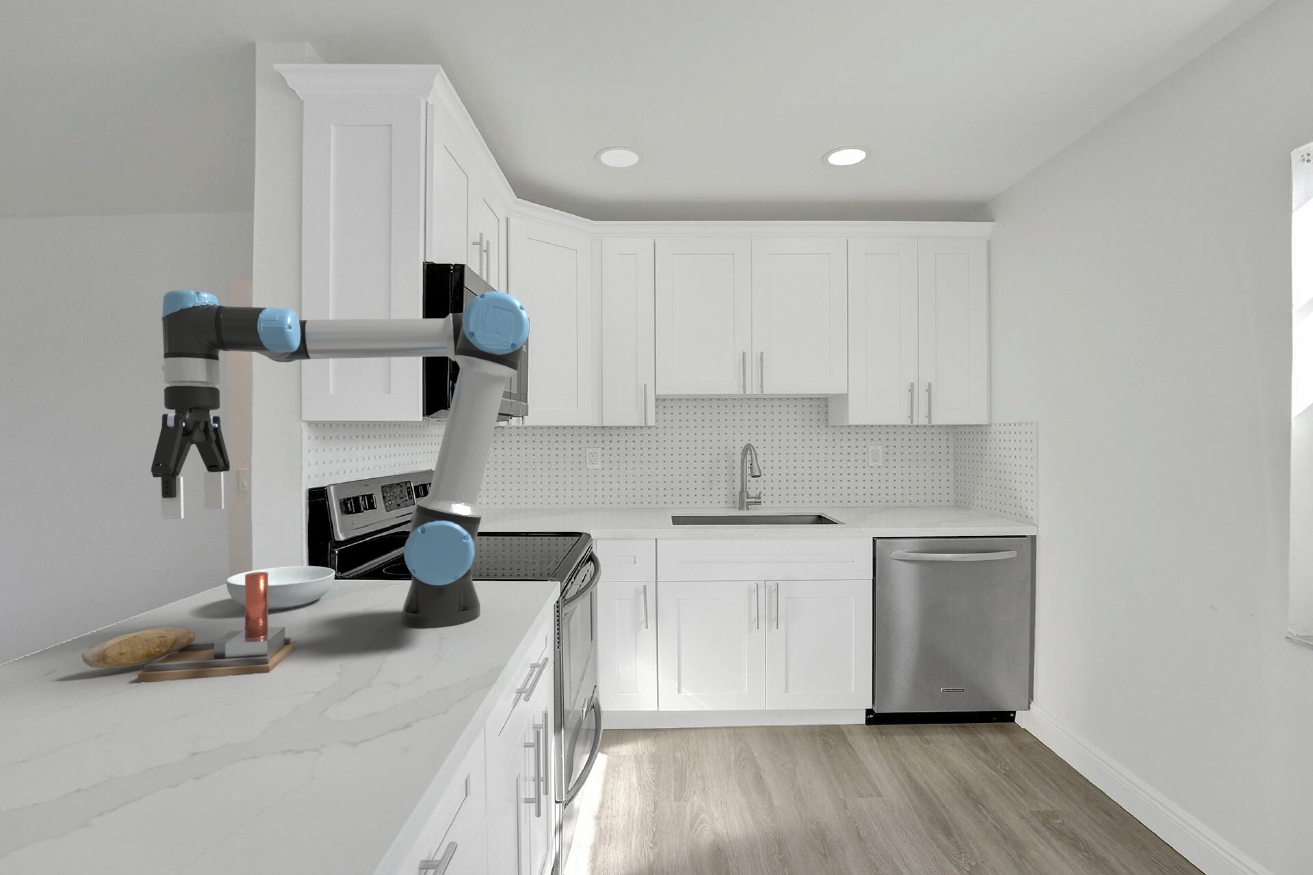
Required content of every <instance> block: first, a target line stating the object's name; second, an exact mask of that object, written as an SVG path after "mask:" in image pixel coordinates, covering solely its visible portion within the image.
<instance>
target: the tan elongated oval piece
mask: <svg viewBox="0 0 1313 875" xmlns="http://www.w3.org/2000/svg"><path fill="white" fill-rule="evenodd" d="M196 634H197V632H196V630H195V631H194V630H193V629H192V630H191V629H189V628H181V627H170V626H169V627H166V626H165V627H156V628H152V629H151V628H150V629H144V630H138V631H134V632H129V633H126V634H123V635H122V634H121V635H118V636H116V637H114V638H111V639H108V640H107V641H104V642H102V643H100V644H98V645H95V646H94V647H92V648H90V649H88V650H86V651H84V652H82V655H81V658H82V662H84V663H85V664H86V665H87V666H89V667H90V668H95V669H96V668H97V669H99V668H100V669H118V668H119V669H121V668H128V667H129V668H130V667H134V666H140V665H143V664H149V663H151V662H153V661H156V660H158V659H161V658H164V657H166V656H168V655H170V654H171V653H173V652H175V651H178V650H180V649H182V648H184V647H186V646H188V645H189V644H191V643H194V642H195V640H196Z"/></svg>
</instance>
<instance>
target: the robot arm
mask: <svg viewBox="0 0 1313 875" xmlns="http://www.w3.org/2000/svg"><path fill="white" fill-rule="evenodd" d="M218 302H219V300H218V298H217V296H215V295H214V294H212V293H209V292H204V291H195V290H190V289H189V290H188V289H178V290H177V289H176V290H171V291H168V292H166V293H165V295H164V296H163V300H162V315H161V322H162V344H163V365H162V366H161V370H162V371H163V381H164V383H165V384H168V386H165V388H163V397H164V398H163V402H164V408H165V409H166V410H168V411H169V410H173V411H174V413H163V414H162V416H161V429H160V432H159V437H158V441H157V444H156V449H155V452H154V456H153V460H152V464H151V467H150V472H151V474H152V475H151V476H152V478H160V493H161V494H160V498H161V500H160V501H161V502H160V503H161V520H182V519H184V518H185V516H184V515H185V513H184V510H185V509H184V508H185V507H184V476H180V474H181V472H182V468H183V466H184V464H185V461H186V459H187V457H188V454H189V452H190V450H191V447H192V446H193V445H195V447H196V448H197V451H198V454H199V455H200V458H201V460H202V461H203V464H204V466H205V468H206V471H207V472H204V473H203V475H204V510H224V509H225V497H224V496H225V495H224V494H225V492H224V490H225V488H224V487H225V486H224V472H230V468H231V466H230V460H229V456H228V450H227V447H226V443H225V439H224V435H223V432H222V427H221V417H220V416H219V415H211V414H210V413H211V412H210V411H217V410H219V409H220V407H221V398H220V397H221V395H220V394H221V392H220V389H219V388H218V387H216V386H217V385H220V383H221V378H220V376H221V375H220V356H219V355H220V351H221V352H222V351H223V352H249V353H251V352H253V353H258V354H259V355H261V356H264V357H266V358H268V359H269V360H271V361H274V362H279V363H292V362H295V361H299V360H301V361H303V360H324V359H325V360H327V359H331V360H332V359H336V360H337V359H375V358H377V359H378V358H418V357H419V358H420V357H421V358H422V357H424V358H425V357H448V358H449V359H450V360H451V361H453V362H456V363H457V365H458V366H459V373H458V375H457V380H456V384H455V389H454V392H453V397H452V399H451V400H452V401H451V404H450V408H449V411H448V412H449V413H448V416H447V420H446V424H445V428H444V431H443V436H442V440H441V444H440V447H439V448H440V449H439V452H438V456H437V461H436V464H435V468H434V471H433V476H432V480H431V483H430V488H429V492H428V494H427V495H426V496H425V497H423V498H422V499H420V500H419V501H417V503H416V506H415V507H414V508H413V509H412V511H411V517H410V523H411V528H410V532H409V534H408V538H407V539H406V541H405V544H404V548H403V557H404V561H405V564H406V566H407V569H408V570H409V572H410V573H411V581H410V585H409V589H408V592H407V595H406V597H405V601H404V604H403V607H402V611H401V621H402V622H401V623H403V625H405V626H408V627H411V628H412V627H413V628H418V629H440V628H448V627H455V626H460V625H463V624H467V623H470V622H473V621H475V620H477V619H478V618H479V617H480V616H481V603H480V600H479V596H478V594H477V591H476V588H475V585H474V581H473V579H472V578H473V577H472V570H473V569H472V564H473V562H474V559H475V555H476V553H475V550H476V548H475V544H476V542H477V541H476V540H477V538H478V537H477V536H478V533H479V529H480V524H481V519H482V515H483V513H482V512H481V511H480V509H479V507H478V506H477V501H478V498H479V493H480V491H481V490H480V489H481V485H482V481H483V478H484V477H483V476H484V472H485V468H486V464H487V461H488V457H489V453H490V452H489V451H490V448H491V445H492V439H493V438H494V437H493V436H494V432H495V429H496V424H497V420H498V416H499V411H500V407H501V403H502V399H503V394H504V391H505V387H506V383H507V381H508V380H509V379H510V378H512V377H514V376H515V375H517V373H518V369H519V364H520V361H521V360H520V359H521V356H522V353H523V348H524V344H525V342H526V340H527V339H528V336H529V334H530V321H529V320H530V318H529V315H528V313H527V311H526V309H525V307H524V306H523V304H522V303H521V302H520V301H519V300H518V299H517V298H515V297H514V296H512V295H510V294H508V293H505V292H503V291H497V290H496V291H495V290H493V291H487V292H485V291H484V292H483V293H480V294H478V295H476V296H475V297H474V298H473V299H472V300H470V302H469V303H467V305H466V307H464V310H463V312H460V313H459V312H458V313H454V312H453V313H451V312H450V313H449V314H448V315H447V316H446V317H445V318H373V319H372V318H370V319H369V318H367V319H363V318H362V319H358V318H357V319H351V318H350V319H349V318H348V319H307V320H306V319H304V320H303V319H299V318H298V314H297V313H296V312H295V311H294V310H292V309H289V308H278V307H275V306H269V307H258V306H257V307H256V306H255V307H254V306H253V307H251V306H224V305H220V303H218Z"/></svg>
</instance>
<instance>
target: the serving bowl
mask: <svg viewBox="0 0 1313 875" xmlns="http://www.w3.org/2000/svg"><path fill="white" fill-rule="evenodd" d="M255 572H267V573H268V611H272V610H273V611H274V610H284V609H285V610H286V609H289V608H290V609H291V608H295V607H300V606H302V605H307V604H309V603H312V602H314V601H316V600H318V599H320V598H322V597H323V596H324V595H325V594H327V593H328V592H329V591H330V589H331V588H332V586H333V584H334V581H335V577H336V576H335V575H336V571H335V569H332V568H329V567H325V566H324V567H323V566H313V565H300V566H298V565H297V566H296V565H295V566H293V565H292V566H291V565H290V566H279V567H269V568H261V569H255V570H248V571H245V572H240V573H238V574H233V575H231V576H229V577H228V578H227V579H226V580H225V584H226V587H227V592H228V593H229V596H230V597H231V598H232V600H234V601H235V602H236V603H238V604H239V605H241V606H243V607H245V575H246V574H249V573H255Z"/></svg>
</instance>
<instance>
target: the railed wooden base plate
mask: <svg viewBox="0 0 1313 875" xmlns="http://www.w3.org/2000/svg"><path fill="white" fill-rule="evenodd" d="M291 640H292V639H291V637H285V645H283V646H282V647H281V648H280V649H279V650H278V651H277V652H276V653H274V654H273V655H272V656H271V657H270V656H267V657H250V658H234V659H218V660H214V642H215V641H207V642H192V643H191V644H189V645H188V646H186V647H184V648H182V649H180V650H178V651H175V652H173V653H170V654H168V655H166V656H164V657H162V659H160V660H158V661H157V662H155V663H145V665H144V670H142V671H141V672H139V673H137V679H138V680H137V683H138V684H143V683H142V682H145V683H154V682H166V681H165V680H170V681H179V680H182V681H183V680H192V679H193V680H194V679H205V678H206V679H207V678H216V677H229V676H228V675H232V676H240V675H241V676H242V675H243V676H244V675H253V674H254V673H257V674H265V673H266V674H269V673H271V672H272V671H273V670H274V669H275V668H276V667H277V666H278V665H279V664H280V663H281V662H282V661H284V660H285V658H287V657H288V656H289V655H290V654H292V652H293V651H294V650H295V649H296V641H291ZM270 671H271V672H270ZM254 675H255V674H254Z"/></svg>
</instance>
